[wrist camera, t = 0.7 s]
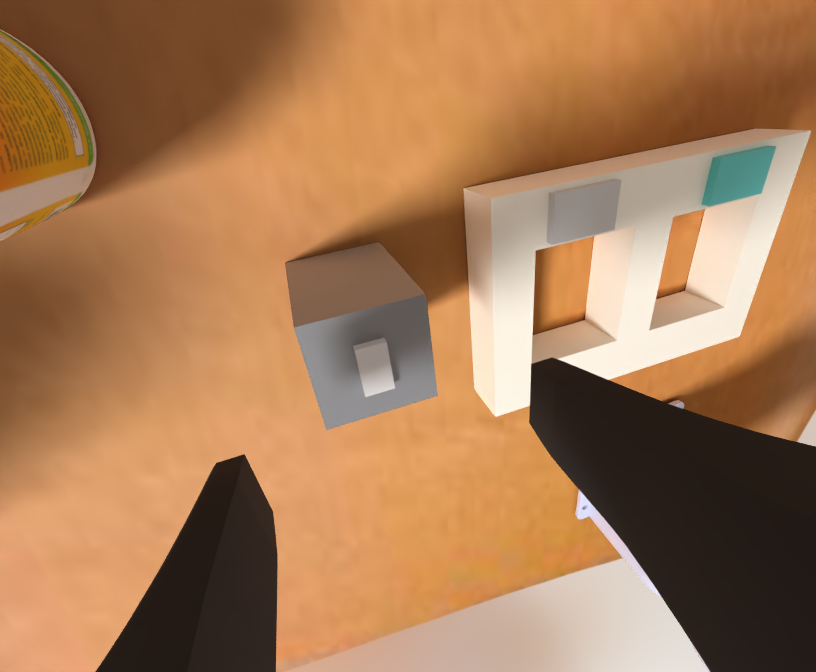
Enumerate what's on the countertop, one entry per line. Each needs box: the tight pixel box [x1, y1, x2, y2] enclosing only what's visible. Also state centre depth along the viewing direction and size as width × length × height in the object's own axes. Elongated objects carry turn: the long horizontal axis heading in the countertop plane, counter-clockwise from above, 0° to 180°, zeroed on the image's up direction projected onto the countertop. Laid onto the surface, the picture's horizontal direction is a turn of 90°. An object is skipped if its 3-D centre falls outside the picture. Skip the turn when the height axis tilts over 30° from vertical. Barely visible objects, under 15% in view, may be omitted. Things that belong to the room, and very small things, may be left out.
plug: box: [285, 242, 438, 430], centre depth 15 cm, size 4×4×6 cm
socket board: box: [463, 129, 811, 417], centre depth 20 cm, size 11×16×3 cm
